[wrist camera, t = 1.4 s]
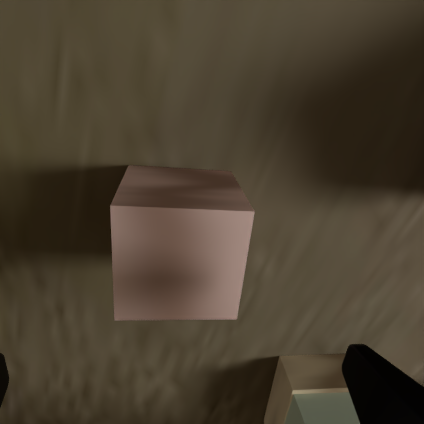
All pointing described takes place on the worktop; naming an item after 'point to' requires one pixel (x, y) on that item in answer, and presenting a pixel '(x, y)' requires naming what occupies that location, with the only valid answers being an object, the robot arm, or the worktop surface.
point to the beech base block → (303, 381)
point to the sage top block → (322, 409)
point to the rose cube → (179, 244)
